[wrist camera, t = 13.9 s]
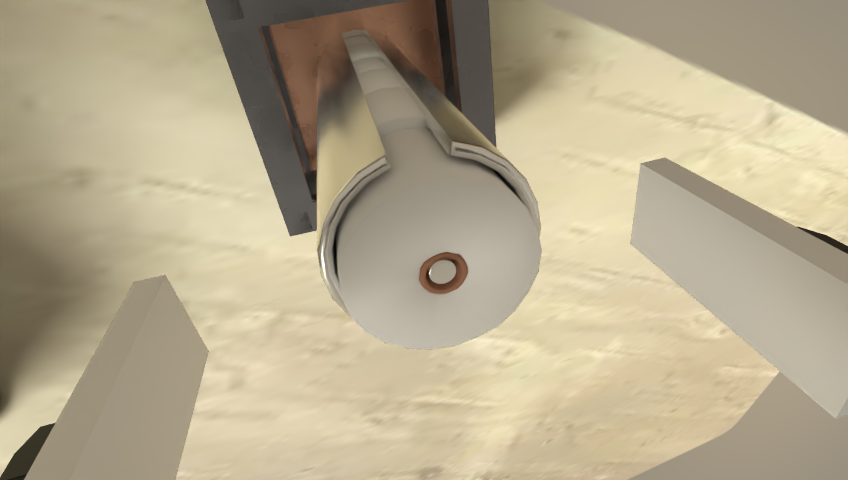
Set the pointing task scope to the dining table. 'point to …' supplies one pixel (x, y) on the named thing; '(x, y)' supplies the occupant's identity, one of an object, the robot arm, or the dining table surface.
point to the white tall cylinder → (414, 204)
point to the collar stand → (298, 61)
